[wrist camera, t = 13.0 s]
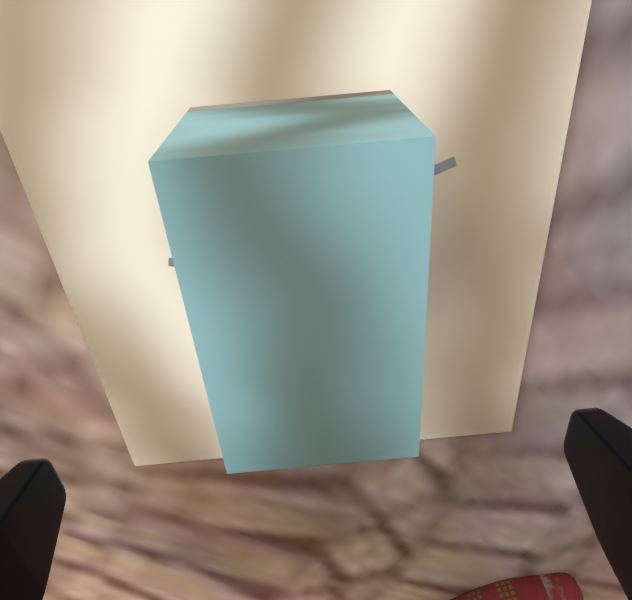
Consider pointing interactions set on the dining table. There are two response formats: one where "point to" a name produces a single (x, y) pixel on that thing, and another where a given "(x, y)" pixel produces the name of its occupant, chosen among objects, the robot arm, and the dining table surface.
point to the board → (275, 84)
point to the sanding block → (304, 272)
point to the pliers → (528, 589)
